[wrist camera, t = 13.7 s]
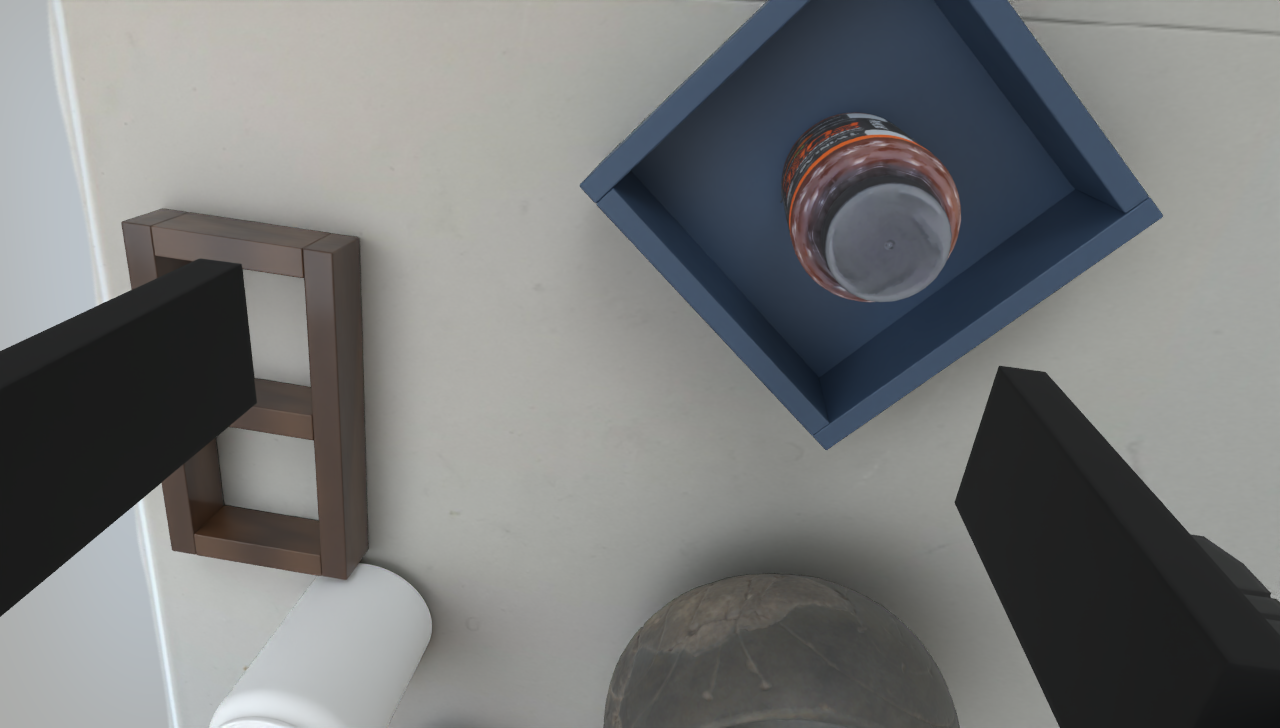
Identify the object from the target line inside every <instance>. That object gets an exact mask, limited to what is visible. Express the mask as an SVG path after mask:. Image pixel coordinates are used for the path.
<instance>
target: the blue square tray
mask: <svg viewBox="0 0 1280 728" xmlns="http://www.w3.org/2000/svg"><path fill="white" fill-rule="evenodd" d="M854 112H857V113H866V114H871V115H875V116H877V117H880V118H883V119H886V120H887V121H889V122H891V123H893V124H894V125H895V126H897V127H898V128H899V129H901V130H902V131H903V132H905V133H906V134H907V135H908V136H910V137H911V138H912V139H914V140H915V141H916V142H918V143H919V144H920V145H922V146H923V147H924V148H926V149H927V150H928V151H930V152H931V153H932V154H933V155H934V156H935V157H937V158H938V159H939V160H940V161H941V162H942V164H943V165H944V166H945V167H946V169H947V170H948V172H949V173H950V175H951V177H952V179H953V181H954V183H955V185H956V188H957V191H958V194H959V199H960V205H961V223H960V229H959V233H958V238H957V241H956V244H955V246H954V249H953V250H952V252H951V254H950V256H949V258H948V260H947V261H946V263H945V265H944V267H943V269H942V270H941V272H940V273H939V274H938V276H937V278H936V279H935V280H934V281H933V282H931V283H930V284H929V285H928V286H927V287H926V288H924V289H923V290H921V291H920V292H918V293H916V294H914V295H912V296H910V297H908V298H904V299H900V300H897V301H892V302H861V301H855V300H850V299H846V298H842V297H840V296H838V295H835V294H833V293H831V292H829V291H828V290H826V289H824V288H823V287H821V286H820V285H819V284H818V283H816V282H815V281H814V280H813V279H812V278H811V277H810V276H809V275H808V273H807V272H806V271H805V269H804V268H803V266H802V265H801V263H800V261H799V260H798V258H797V255H796V253H795V250H794V247H793V244H792V241H791V238H790V233H789V228H788V224H787V220H786V214H785V210H784V203H783V201H782V203H780V201H781V200H782V196H781V180H782V173H783V168H784V165H785V162H786V159H787V156H788V155H789V153H790V151H791V149H792V147H793V145H794V144H795V143H796V141H797V140H798V139H799V138H800V137H801V136H802V135H803V134H804V133H805V132H806V131H807V130H808V129H810V128H811V127H812V126H814V125H815V124H817V123H818V122H820V121H822V120H824V119H826V118H828V117H831V116H835V115H838V114H843V113H854ZM580 187H581V189H582V190H583V191H584V192H585V193H586V194H587V195H588V196H589V197H590V198H591V199H592V200H593V201H594V202H595V203H597V206H598V207H599V208H600V209H601V210H602V211H603V212H604V213H605V214H606V216H607V217H608V218H609V219H610V220H611V221H612V222H613V223H614V224H615V225H616V226H617V227H618V228H619V229H620V231H621V232H622V233H623V234H624V235H625V236H626V237H627V238H628V239H629V240H630V241H631V242H632V243H633V244H634V245H635V247H636V248H637V249H638V250H639V251H640V252H641V253H642V254H643V255H644V256H645V257H646V258H647V259H648V260H649V262H650V263H651V264H652V265H653V266H654V267H655V268H656V269H657V270H658V271H659V272H660V273H661V274H662V275H663V277H664V278H665V279H666V280H667V281H668V282H669V283H670V284H671V285H672V286H673V287H674V288H675V289H676V290H677V292H678V293H679V294H680V295H681V296H682V297H683V298H684V299H685V300H686V301H687V302H688V303H689V304H690V305H691V307H692V308H693V309H694V310H695V311H696V312H697V313H698V314H699V315H700V316H701V317H702V318H703V319H704V320H705V322H706V323H707V324H708V325H709V326H710V327H711V328H712V329H713V330H714V331H715V332H716V333H717V334H718V335H719V336H720V338H721V339H722V340H723V341H724V342H725V343H726V344H727V345H728V346H729V347H730V348H731V349H732V350H733V351H734V353H735V354H736V355H737V356H738V357H739V358H740V359H741V360H742V361H743V362H744V363H745V364H746V365H747V366H748V368H749V369H750V370H751V371H752V372H753V373H754V374H755V375H756V376H757V377H758V378H759V379H760V380H761V381H762V383H763V384H764V385H765V386H766V387H767V388H768V389H769V390H770V391H771V392H772V393H773V394H774V395H775V396H776V398H777V399H778V400H779V401H780V402H781V403H782V404H783V405H784V406H785V407H786V408H787V409H788V410H789V411H790V413H791V414H792V415H793V416H794V417H795V418H796V419H797V420H798V421H799V422H800V423H801V424H802V425H803V426H804V427H805V429H806V430H807V431H808V432H809V433H810V434H811V435H813V437H814V438H815V439H816V440H817V441H818V442H819V444H820V445H821V446H822V447H823V448H824V449H825V450H828V449H829V448H831V447H832V446H833V445H835V444H836V443H838V442H839V441H841V440H842V439H843V438H845V437H846V436H848V435H849V434H851V433H852V432H854V431H855V430H856V429H858V428H859V427H861V426H862V425H864V424H865V423H867V422H868V421H869V420H871V419H872V418H874V417H875V416H877V415H878V414H880V413H881V412H882V411H884V410H885V409H887V408H888V407H890V406H891V405H893V404H894V403H895V402H897V401H898V400H900V399H901V398H903V397H904V396H905V395H907V394H908V393H910V392H911V391H913V390H914V389H916V388H917V387H918V386H920V385H921V384H923V383H924V382H926V381H927V380H929V379H930V378H931V377H933V376H934V375H936V374H937V373H939V372H940V371H942V370H943V369H944V368H946V367H947V366H949V365H950V364H952V363H953V362H954V361H956V360H957V359H959V358H960V357H962V356H963V355H965V354H966V353H967V352H969V351H970V350H972V349H973V348H975V347H976V346H978V345H979V344H980V343H982V342H983V341H985V340H986V339H988V338H989V337H991V336H992V335H993V334H995V333H996V332H998V331H999V330H1001V329H1002V328H1004V327H1005V326H1006V325H1008V324H1009V323H1011V322H1012V321H1014V320H1015V319H1016V318H1018V317H1019V316H1021V315H1022V314H1024V313H1025V312H1027V311H1028V310H1029V309H1031V308H1032V307H1034V306H1035V305H1037V304H1038V303H1040V302H1041V301H1042V300H1044V299H1045V298H1047V297H1048V296H1050V295H1051V294H1053V293H1054V292H1055V291H1057V290H1058V289H1060V288H1061V287H1063V286H1064V285H1065V284H1067V283H1068V282H1070V281H1071V280H1073V279H1074V278H1076V277H1077V276H1078V275H1080V274H1081V273H1083V272H1084V271H1086V270H1087V269H1089V268H1090V267H1091V266H1093V265H1094V264H1096V263H1097V262H1099V261H1100V260H1102V259H1103V258H1104V257H1106V256H1107V255H1109V254H1110V253H1112V252H1113V251H1114V250H1116V249H1117V248H1119V247H1120V246H1122V245H1123V244H1125V243H1126V242H1127V241H1129V240H1130V239H1132V238H1133V237H1135V236H1136V235H1138V234H1139V233H1140V232H1142V231H1143V230H1145V229H1146V228H1148V227H1149V226H1151V225H1152V224H1153V223H1155V222H1156V221H1158V220H1159V219H1161V218H1162V217H1163V214H1162V213H1161V212H1160V210H1159V209H1158V208H1157V206H1156V205H1155V203H1154V202H1153V201H1152V199H1151V198H1150V197H1148V194H1147V193H1146V191H1145V190H1144V188H1143V187H1142V186H1141V184H1140V183H1139V182H1138V180H1137V179H1136V177H1135V176H1134V175H1133V173H1132V172H1131V170H1130V169H1129V168H1128V166H1127V165H1126V164H1125V162H1124V161H1123V159H1122V158H1121V157H1120V155H1119V154H1118V152H1117V151H1116V150H1115V148H1114V147H1113V146H1112V144H1111V143H1110V141H1109V140H1108V139H1107V137H1106V136H1105V134H1104V133H1103V132H1102V130H1101V129H1100V128H1099V126H1098V125H1097V123H1096V122H1095V121H1094V119H1093V118H1092V116H1091V115H1090V114H1089V112H1088V111H1087V110H1086V108H1085V107H1084V105H1083V104H1082V103H1081V101H1080V100H1079V98H1078V97H1077V96H1076V94H1075V93H1074V92H1073V90H1072V89H1071V87H1070V86H1069V85H1068V83H1067V82H1066V81H1065V79H1064V78H1063V76H1062V75H1061V74H1060V72H1059V71H1058V69H1057V68H1056V67H1055V65H1054V64H1053V63H1052V61H1051V60H1050V58H1049V57H1048V56H1047V54H1046V53H1045V51H1044V50H1043V49H1042V47H1041V46H1040V45H1039V43H1038V42H1037V40H1036V39H1035V38H1034V36H1033V35H1032V33H1031V32H1030V31H1029V29H1028V28H1027V27H1026V25H1025V24H1024V22H1023V21H1022V20H1021V18H1020V17H1019V15H1018V14H1017V13H1016V11H1015V10H1014V9H1013V7H1012V6H1011V4H1010V3H1009V2H1008V0H768V1H767V2H766V3H765V4H764V5H763V6H762V7H761V8H760V9H759V10H758V11H757V12H756V13H754V14H753V15H752V16H751V17H750V18H749V19H748V20H747V21H746V22H745V23H744V24H743V25H742V26H741V27H740V28H739V29H738V30H737V31H736V32H735V33H734V34H733V35H732V36H731V37H730V38H729V39H728V40H727V41H726V42H725V43H724V44H723V45H721V46H720V47H719V48H718V49H717V50H716V51H715V52H714V53H713V54H712V55H711V56H710V57H709V58H708V59H707V60H706V61H705V62H704V63H703V64H702V65H701V66H700V67H699V68H698V69H697V70H696V71H695V72H694V73H693V74H692V75H691V76H690V77H688V78H687V79H686V80H685V81H684V82H683V83H682V84H681V85H680V86H679V87H678V88H677V89H676V90H675V91H674V92H673V93H672V94H671V95H670V96H669V97H668V98H667V99H666V100H665V101H664V102H663V103H662V104H661V105H660V106H659V107H658V108H657V109H655V110H654V111H653V112H652V113H651V114H650V115H649V116H648V117H647V118H646V119H645V120H644V121H643V122H642V123H641V124H640V125H639V126H638V127H637V128H636V129H635V130H634V131H633V132H632V133H631V134H630V135H629V136H628V137H627V138H626V139H625V140H624V141H623V142H621V143H620V144H619V145H618V146H617V147H616V148H615V149H614V150H613V151H612V152H611V153H610V154H609V155H608V156H607V157H606V158H605V159H604V160H603V161H602V162H601V163H600V164H599V165H598V166H597V167H596V168H595V169H594V170H593V171H592V172H591V173H590V174H589V176H588V177H587V178H586V179H585V180H584V181H583V182H582V183H581V184H580Z"/></svg>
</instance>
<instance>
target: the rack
mask: <svg viewBox="0 0 1280 728" xmlns="http://www.w3.org/2000/svg"><path fill="white" fill-rule="evenodd" d="M122 230H123V236H124V243H125V249H126V256H127V262H128V268H129V275H130V281H131V288H132V290H133V289H135V288H137V287H139V286H141V285H144V284H146V283H148V282H150V281H152V280H154V279H156V278H159V277H161V276H163V275H165V274H167V273H169V272H171V271H174V270H176V269H178V268H180V267H182V266H184V265H186V264H189V263H191V262H193V261H195V260H197V259H199V258H201V259H209V260H216V261H224V262H231V263H238V264H242V269H247V270H253V271H260V272H267V273H273V274H280V275H287V276H293V277H300V278H304V280H305V297H306V313H307V330H308V347H309V363H310V380H311V387H306V386H300V385H294V384H287V383H281V382H275V381H268V380H262V379H256V378H254V380H255V389H256V398H257V403H256V404H255V405H254V406H253V407H252V408H250V409H249V410H248V411H247V412H246V413H244V414H243V415H242V416H241V417H240V418H238V419H237V420H236V421H235V422H234V423H232V424H231V425H230V426H229V427H234V428H241V429H247V430H253V431H259V432H265V433H272V434H278V435H284V436H290V437H296V438H303V439H309V440H314V447H315V464H316V480H317V497H318V514H319V521H316V520H310V519H304V518H298V517H292V516H286V515H280V514H274V513H268V512H262V511H257V510H251V509H245V508H239V507H233V506H227V505H224V502H223V494H222V485H221V477H220V469H219V460H218V452H217V443H216V438H214V439H213V440H212V441H211V442H210V443H208V444H207V445H206V446H205V447H204V448H202V449H201V450H200V451H199V452H198V453H196V454H195V455H194V456H193V457H192V458H190V459H189V460H188V461H187V462H186V463H184V464H183V465H182V466H181V467H180V468H178V469H177V470H176V471H175V472H174V473H172V474H171V475H170V476H169V477H168V478H166V479H165V480H164V481H163V482H162V488H163V494H164V501H165V507H166V514H167V520H168V527H169V533H170V540H171V546H172V550H173V551H178V552H184V553H189V554H197V555H200V556H206V557H212V558H218V559H223V560H229V561H235V562H241V563H247V564H253V565H259V566H264V567H270V568H276V569H282V570H288V571H294V572H299V573H305V574H311V575H317V576H324V577H330V578H336V579H342V580H347V579H348V578H349V576H350V575H351V573H352V572H353V570H354V569H355V568H356V566H357V565H358V563H359V562H360V560H361V559H362V558H363V556H364V555H365V553H366V552H367V550H368V516H367V482H366V448H365V414H364V380H363V346H362V312H361V278H360V244H359V238H358V237H353V236H346V235H339V234H331V233H326V232H320V231H313V230H306V229H299V228H292V227H286V226H279V225H272V224H265V223H258V222H252V221H245V220H238V219H231V218H224V217H218V216H211V215H204V214H197V213H188V212H183V211H176V210H169V209H159V210H156V211H153V212H150V213H147V214H144V215H141V216H138V217H135V218H132V219H129V220H126V221H123V222H122Z"/></svg>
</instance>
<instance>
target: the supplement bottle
mask: <svg viewBox="0 0 1280 728" xmlns="http://www.w3.org/2000/svg"><path fill="white" fill-rule="evenodd" d="M781 196H782V200H781V201H780V203H782V201H783V203H784V210H785V214H786V220H787V224H788V228H789V233H790V238H791V241H792V244H793V247H794V250H795V253H796V255H797V258H798V260H799V261H800V263H801V265H802V266H803V268H804V269H805V271H806V272H807V273H808V275H809V276H810V277H811V278H812V279H813V280H814V281H815V282H816V283H818V284H819V285H820V286H821V287H823V288H824V289H826V290H828V291H829V292H831V293H833V294H835V295H838V296H840V297H842V298H846V299H850V300H855V301H861V302H892V301H897V300H900V299H904V298H908V297H910V296H912V295H914V294H916V293H918V292H920V291H921V290H923V289H924V288H926V287H927V286H928V285H929V284H930V283H931V282H933V281H934V280H935V279H936V278H937V276H938V274H939V273H940V272H941V270H942V269H943V267H944V265H945V263H946V261H947V260H948V258H949V256H950V254H951V252H952V250H953V249H954V246H955V244H956V241H957V238H958V233H959V229H960V223H961V205H960V199H959V194H958V191H957V188H956V185H955V183H954V181H953V179H952V177H951V175H950V173H949V172H948V170H947V169H946V167H945V166H944V165H943V164H942V162H941V161H940V160H939V159H938V158H937V157H935V156H934V155H933V154H932V153H931V152H930V151H928V150H927V149H926V148H924V147H923V146H922V145H920V144H919V143H918V142H916V141H915V140H914V139H912V138H911V137H910V136H908V135H907V134H906V133H905V132H903V131H902V130H901V129H899V128H898V127H897V126H895V125H894V124H893V123H891V122H889V121H887V120H886V119H883V118H880V117H877V116H875V115H871V114H866V113H857V112H854V113H843V114H838V115H835V116H831V117H828V118H826V119H824V120H822V121H820V122H818V123H817V124H815V125H814V126H812V127H811V128H810V129H808V130H807V131H806V132H805V133H804V134H803V135H802V136H801V137H800V138H799V139H798V140H797V141H796V143H795V144H794V145H793V147H792V149H791V151H790V153H789V155H788V156H787V159H786V162H785V165H784V168H783V173H782V180H781Z"/></svg>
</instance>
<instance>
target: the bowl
mask: <svg viewBox="0 0 1280 728" xmlns="http://www.w3.org/2000/svg"><path fill="white" fill-rule="evenodd" d="M604 728H960V726H959V721H958V717H957V713H956V710H955V707H954V703H953V700H952V697H951V695H950V692H949V689H948V687H947V685H946V682H945V680H944V678H943V676H942V674H941V672H940V670H939V668H938V666H937V665H936V663H935V661H934V660H933V658H932V656H931V655H930V654H929V652H928V651H927V649H926V648H925V646H924V645H923V644H922V643H921V641H920V640H919V639H918V638H917V636H916V635H915V634H914V633H913V632H912V631H911V630H910V629H909V628H908V627H907V626H906V625H905V624H904V623H903V622H902V621H901V620H899V619H898V618H897V617H896V616H895V615H893V614H892V613H891V612H889V611H888V610H887V609H885V608H884V607H882V606H881V605H880V604H878V603H876V602H875V601H873V600H871V599H870V598H868V597H866V596H864V595H862V594H860V593H858V592H856V591H854V590H851V589H849V588H847V587H844V586H842V585H839V584H836V583H833V582H830V581H827V580H824V579H820V578H816V577H811V576H804V575H792V574H776V573H774V574H751V575H740V576H735V577H730V578H726V579H722V580H719V581H716V582H713V583H710V584H707V585H703V586H700V587H697V588H695V589H692V590H690V591H689V592H686V593H684V594H682V595H680V596H678V597H677V598H675V599H674V600H672V601H671V602H670V603H668V604H667V605H666V606H664V607H663V608H662V609H661V610H660V611H658V612H657V613H656V614H654V615H653V616H652V617H651V618H650V619H649V620H648V621H647V622H646V623H645V624H644V627H641V628H640V629H639V631H638V632H637V633H636V634H635V635H634V637H633V638H632V639H631V641H630V642H629V644H628V645H627V647H626V648H625V650H624V652H623V653H622V655H621V657H620V659H619V661H618V663H617V665H616V668H615V670H614V673H613V676H612V679H611V682H610V685H609V690H608V694H607V699H606V706H605V716H604Z"/></svg>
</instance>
